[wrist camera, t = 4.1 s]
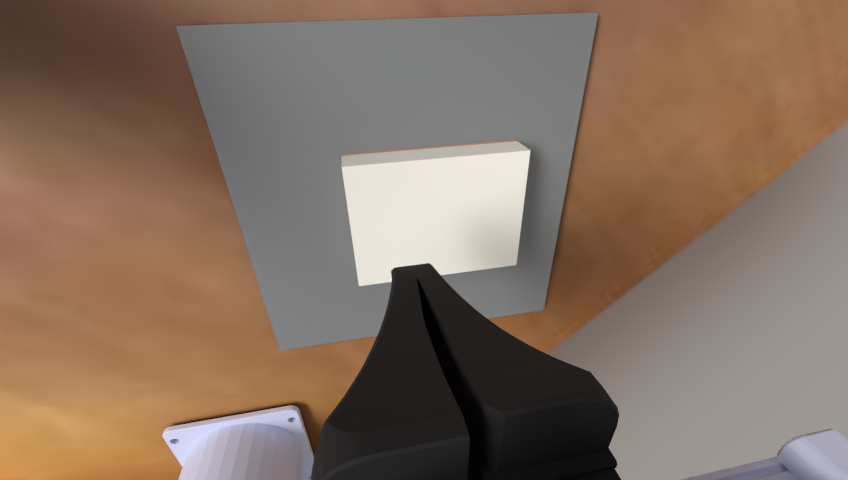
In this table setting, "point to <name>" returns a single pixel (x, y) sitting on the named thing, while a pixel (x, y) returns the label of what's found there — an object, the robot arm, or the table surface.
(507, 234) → the tile
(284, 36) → the mat
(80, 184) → the table surface
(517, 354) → the robot arm
